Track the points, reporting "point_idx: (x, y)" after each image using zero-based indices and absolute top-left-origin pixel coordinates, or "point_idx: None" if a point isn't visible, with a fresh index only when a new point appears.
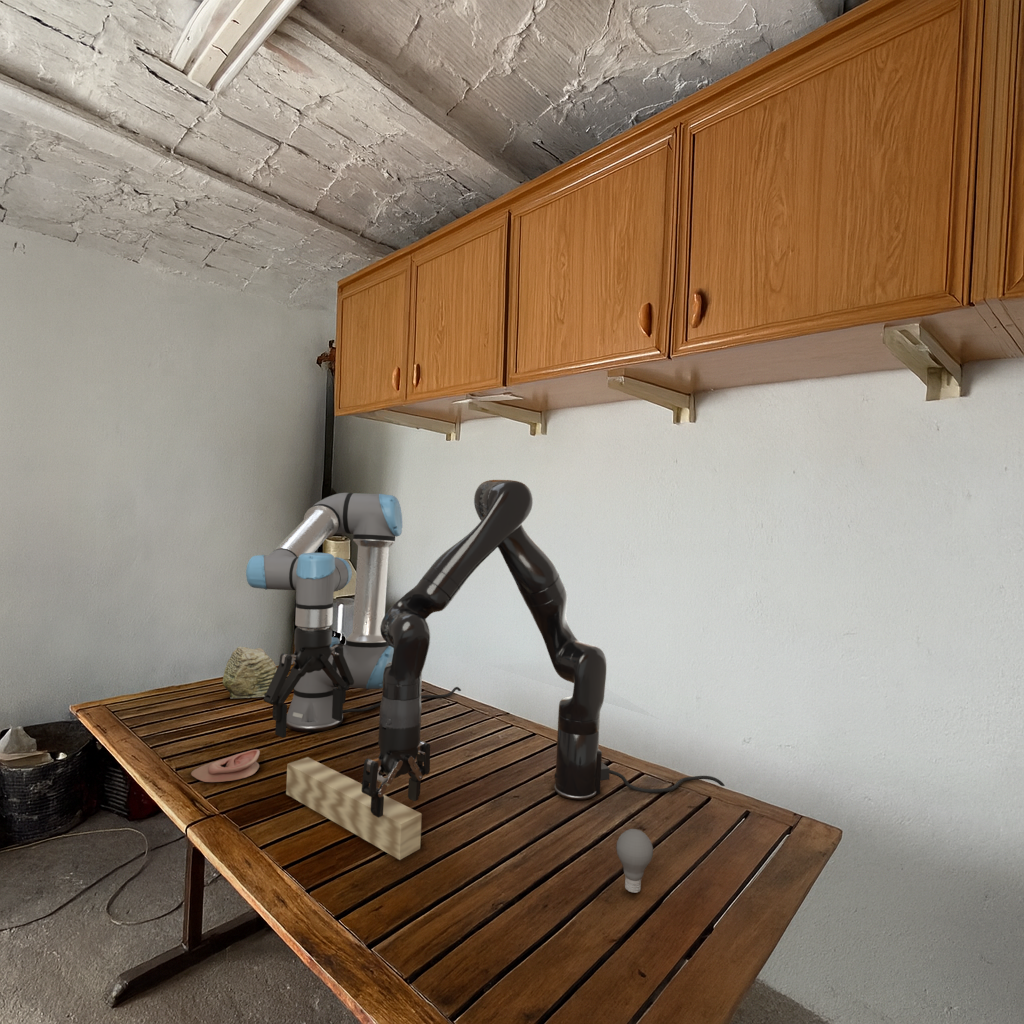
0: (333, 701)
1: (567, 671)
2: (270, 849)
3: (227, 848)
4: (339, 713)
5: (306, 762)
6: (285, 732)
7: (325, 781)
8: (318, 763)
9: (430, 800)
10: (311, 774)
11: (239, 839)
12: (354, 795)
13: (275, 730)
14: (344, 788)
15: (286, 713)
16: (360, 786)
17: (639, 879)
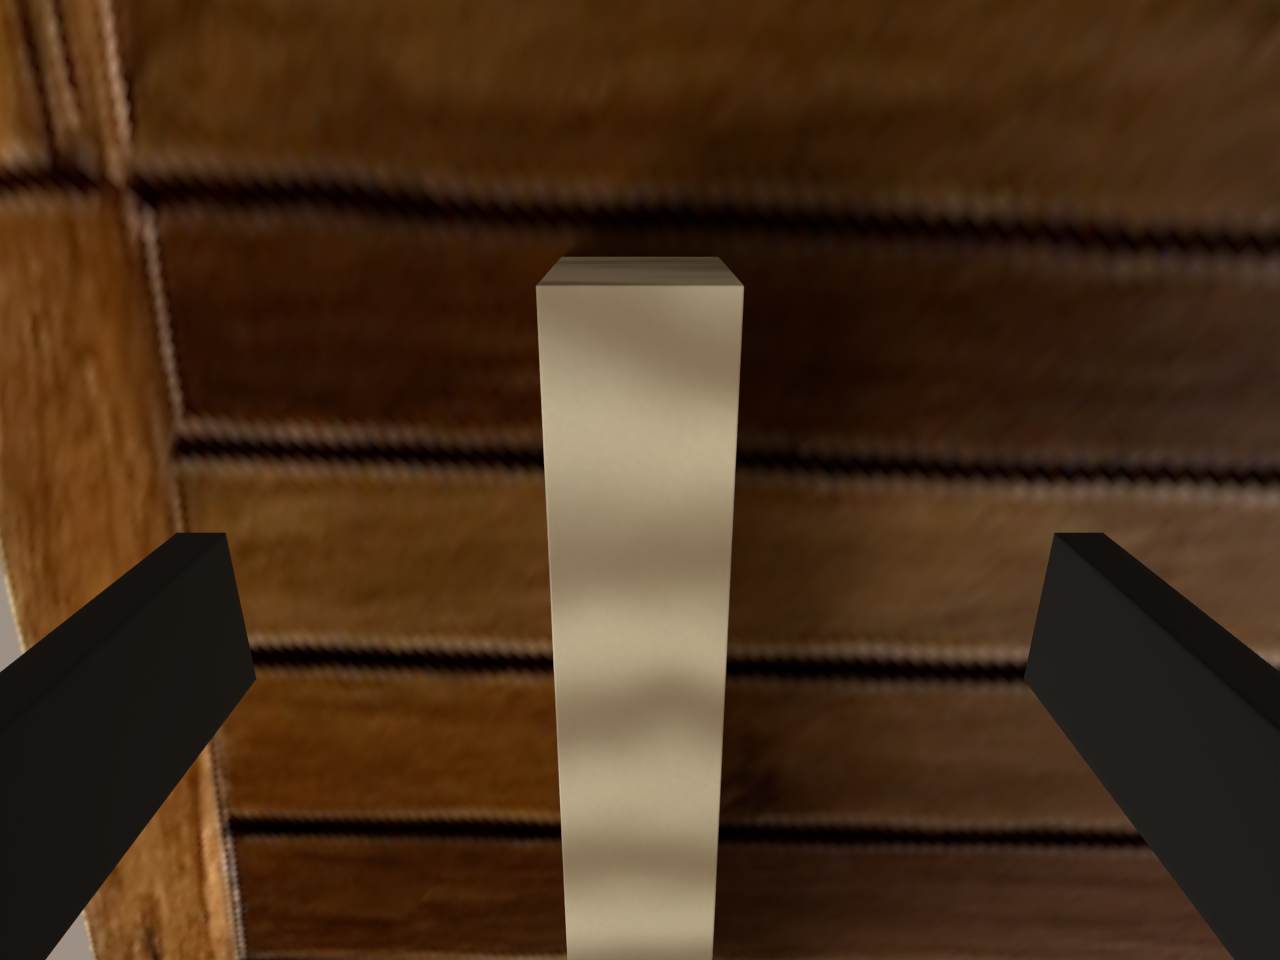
0: (1209, 705)
1: None
2: None
3: (71, 563)
4: (1074, 745)
5: (666, 377)
6: (222, 711)
7: (577, 720)
8: (722, 459)
9: (1033, 835)
10: (570, 580)
11: (143, 532)
12: (594, 935)
13: (146, 561)
14: (606, 851)
15: (56, 936)
16: (687, 888)
17: None
